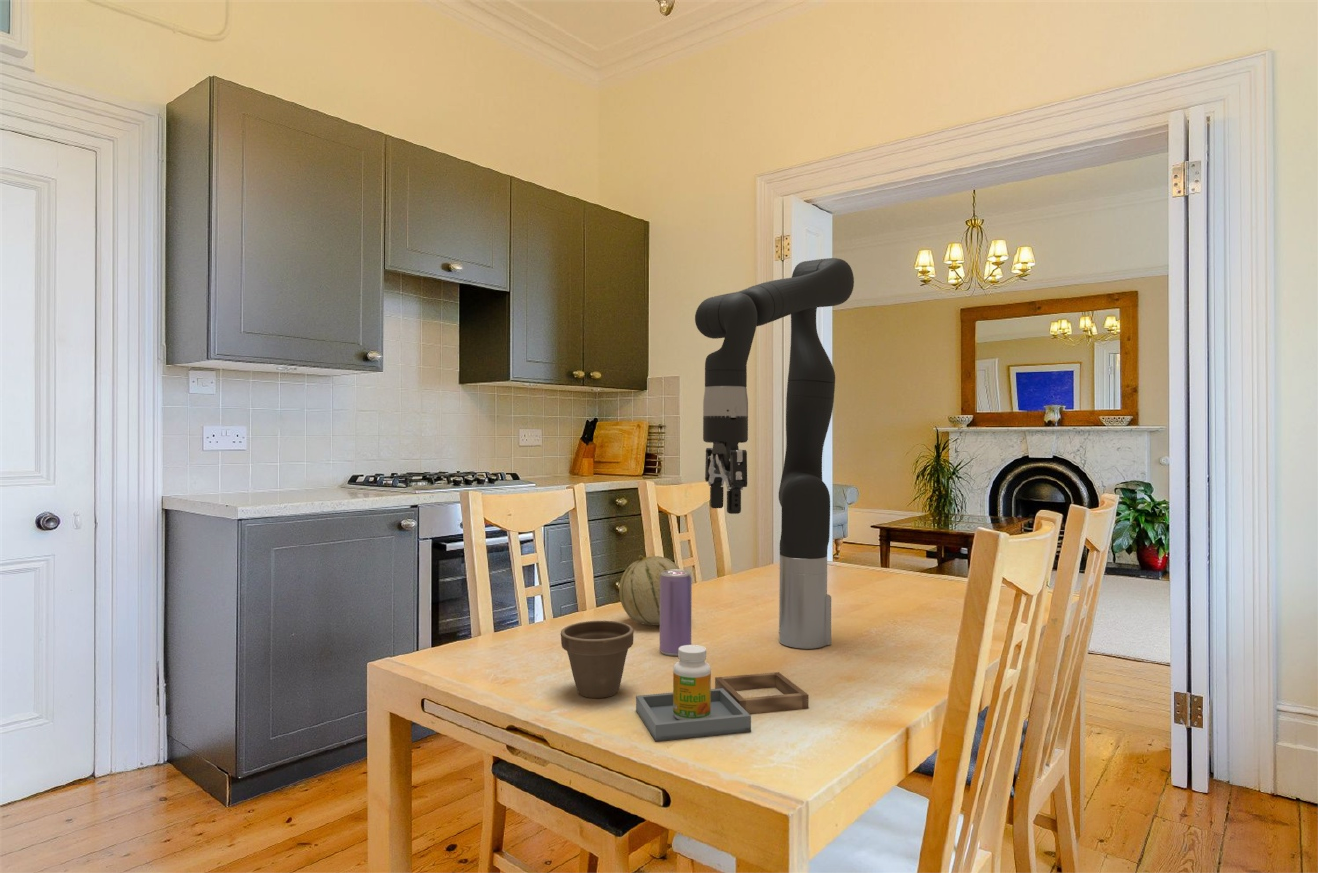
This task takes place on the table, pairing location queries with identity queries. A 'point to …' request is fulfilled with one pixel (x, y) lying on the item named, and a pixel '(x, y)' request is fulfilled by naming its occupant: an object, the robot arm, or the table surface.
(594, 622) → the flower pot
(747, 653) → the table surface
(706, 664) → the supplement bottle
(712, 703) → the tray
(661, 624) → the beverage can
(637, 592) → the cantaloupe
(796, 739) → the table surface
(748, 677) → the brown wooden square frame
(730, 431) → the robot arm
